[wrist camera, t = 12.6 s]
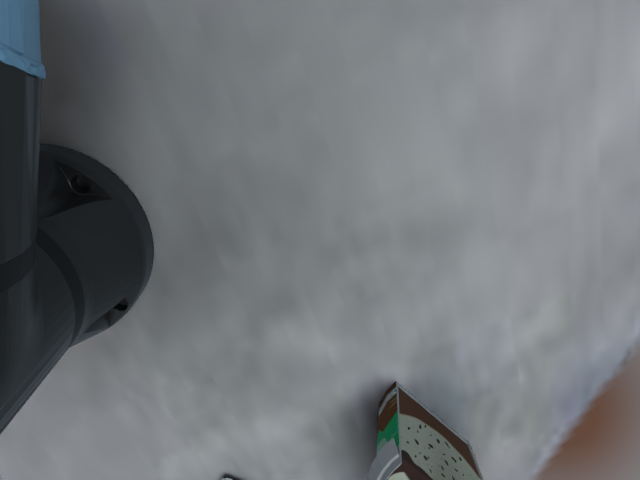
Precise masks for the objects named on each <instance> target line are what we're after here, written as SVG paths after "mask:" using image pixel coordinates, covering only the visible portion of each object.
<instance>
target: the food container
mask: <svg viewBox="0 0 640 480" xmlns="http://www.w3.org/2000/svg"><path fill="white" fill-rule="evenodd" d="M368 480H483V477H482V475H481V472H480V470H479V467H478V464H477V462H476V459H475V456H474V454H473V451H472V448H471V446H470V443H469V442H468V441H466V440H465V439H464V438H463V437H462V436H460V435H459V434H458V433H457V432H456V431H455V430H453V429H452V428H451V427H450V426H449V425H447V424H446V423H445V422H444V421H443V420H441V419H440V418H439V417H438V416H437V415H436V414H434V413H433V412H432V411H431V410H430V409H428V408H427V407H426V406H425V405H424V404H422V403H421V402H420V401H419V400H418V399H416V398H415V397H414V396H413V395H412V394H411V393H409V392H408V391H407V390H406V389H405V388H403V387H402V386H401V385H400V384H399V383H397V382H395V383H394V384H393V385H392V386H391V387H390V388H389V389H388V390H387V391H386V393H385V395H384V397H383V398H382V400H381V402H380V404H379V411H378V417H377V455H376V457H375V459H374V461H373V463H372V465H371V468H370V471H369V474H368Z"/></svg>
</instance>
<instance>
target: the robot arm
mask: <svg viewBox="0 0 640 480" xmlns="http://www.w3.org/2000/svg"><path fill="white" fill-rule="evenodd" d="M42 79H46V69H45V67H44V66H43V65H42V63H41V46H40V11H39V0H0V434H1V433H2V432H3V430H4V429H5V428H6V427H7V425H8V424H9V423H10V422H11V420H12V419H13V418H14V416H15V415H16V414H17V413H18V411H19V410H20V409H21V408H22V406H23V405H24V404H25V403H26V401H27V400H28V399H29V398H30V396H31V395H32V394H33V393H34V391H35V390H36V389H37V387H38V386H39V385H40V384H41V382H42V381H43V380H44V379H45V377H46V376H47V375H48V374H49V372H50V371H51V370H52V369H53V367H54V366H55V365H56V364H57V362H58V361H59V360H60V359H61V357H62V356H63V355H64V353H65V352H66V351H67V349H68V348H69V347H71V346H73V345H75V344H77V343H79V342H82V341H84V340H86V339H88V338H90V337H92V336H94V335H96V334H98V333H100V332H102V331H104V330H106V329H108V328H109V327H111V326H112V325H114V324H115V323H116V322H118V321H119V320H120V319H121V318H122V317H123V316H124V315H125V314H126V313H127V312H128V311H129V310H130V309H131V307H132V306H133V305H134V303H135V302H136V300H137V299H138V298H139V296H140V295H141V293H142V292H143V290H144V288H145V287H146V284H147V282H148V280H149V277H150V274H151V270H152V265H153V240H152V234H151V230H150V227H149V224H148V221H147V218H146V216H145V214H144V211H143V209H142V207H141V206H140V204H139V202H138V201H137V199H136V198H135V196H134V195H133V193H132V192H131V191H130V190H129V188H128V187H127V186H126V185H125V184H124V183H123V182H122V181H121V180H120V179H119V178H118V177H117V176H116V175H115V174H114V173H112V172H111V171H110V170H109V169H107V168H106V167H105V166H103V165H102V164H100V163H99V162H97V161H95V160H94V159H92V158H90V157H88V156H86V155H84V154H81V153H79V152H77V151H74V150H71V149H68V148H64V147H60V146H55V145H48V144H40V121H41V95H42ZM0 480H2V478H1V476H0Z"/></svg>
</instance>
